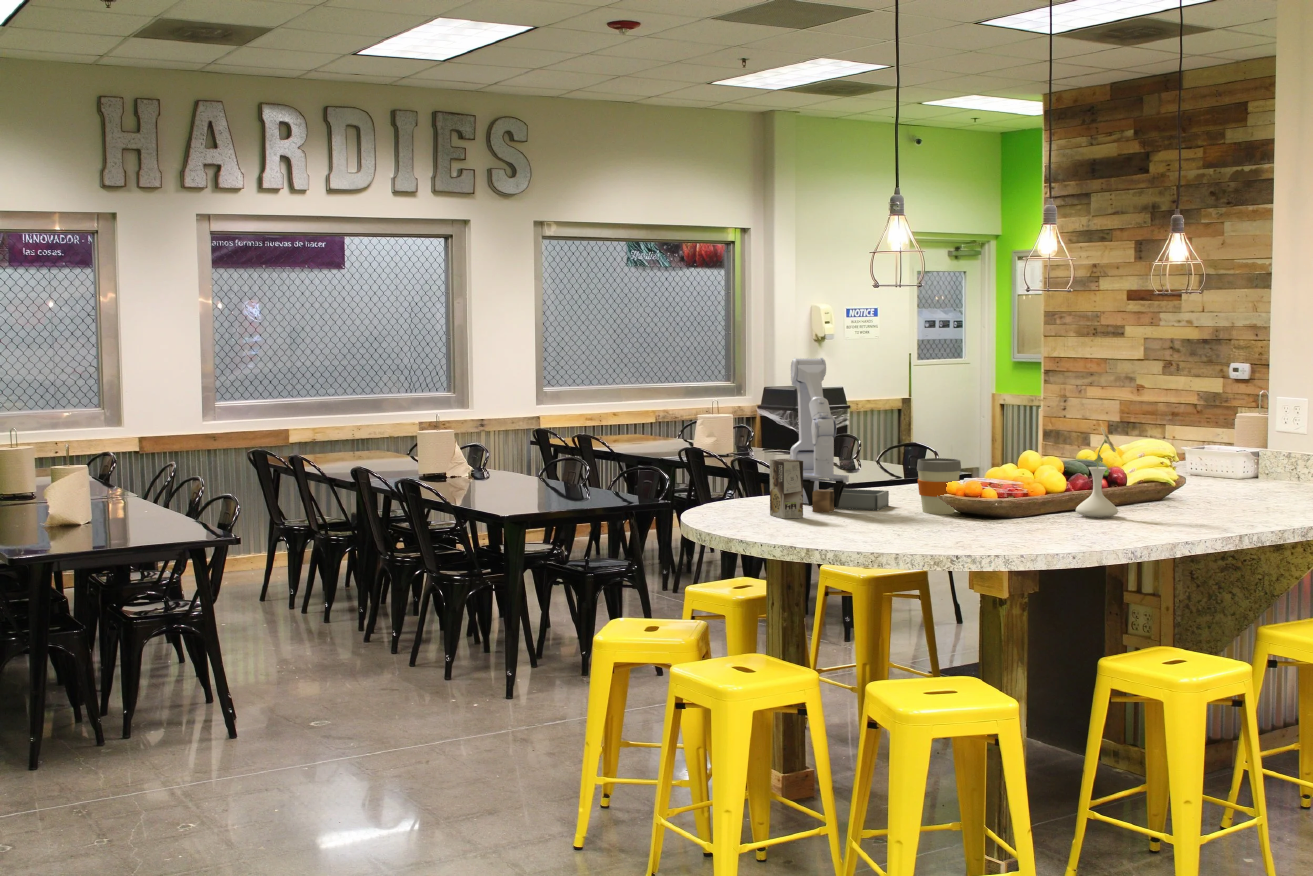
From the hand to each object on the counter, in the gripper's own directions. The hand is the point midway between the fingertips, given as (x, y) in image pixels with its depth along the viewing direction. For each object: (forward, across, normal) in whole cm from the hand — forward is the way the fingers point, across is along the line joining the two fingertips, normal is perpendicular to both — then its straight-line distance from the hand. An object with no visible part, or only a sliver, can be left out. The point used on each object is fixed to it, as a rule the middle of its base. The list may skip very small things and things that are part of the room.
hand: (823, 506), depth 393 cm
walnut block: (+2, 0, 0) cm, 2 cm away
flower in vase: (+2, +74, +19) cm, 76 cm away
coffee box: (+2, -6, -15) cm, 16 cm away
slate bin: (+1, +5, +13) cm, 14 cm away
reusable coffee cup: (+2, +31, +11) cm, 33 cm away
